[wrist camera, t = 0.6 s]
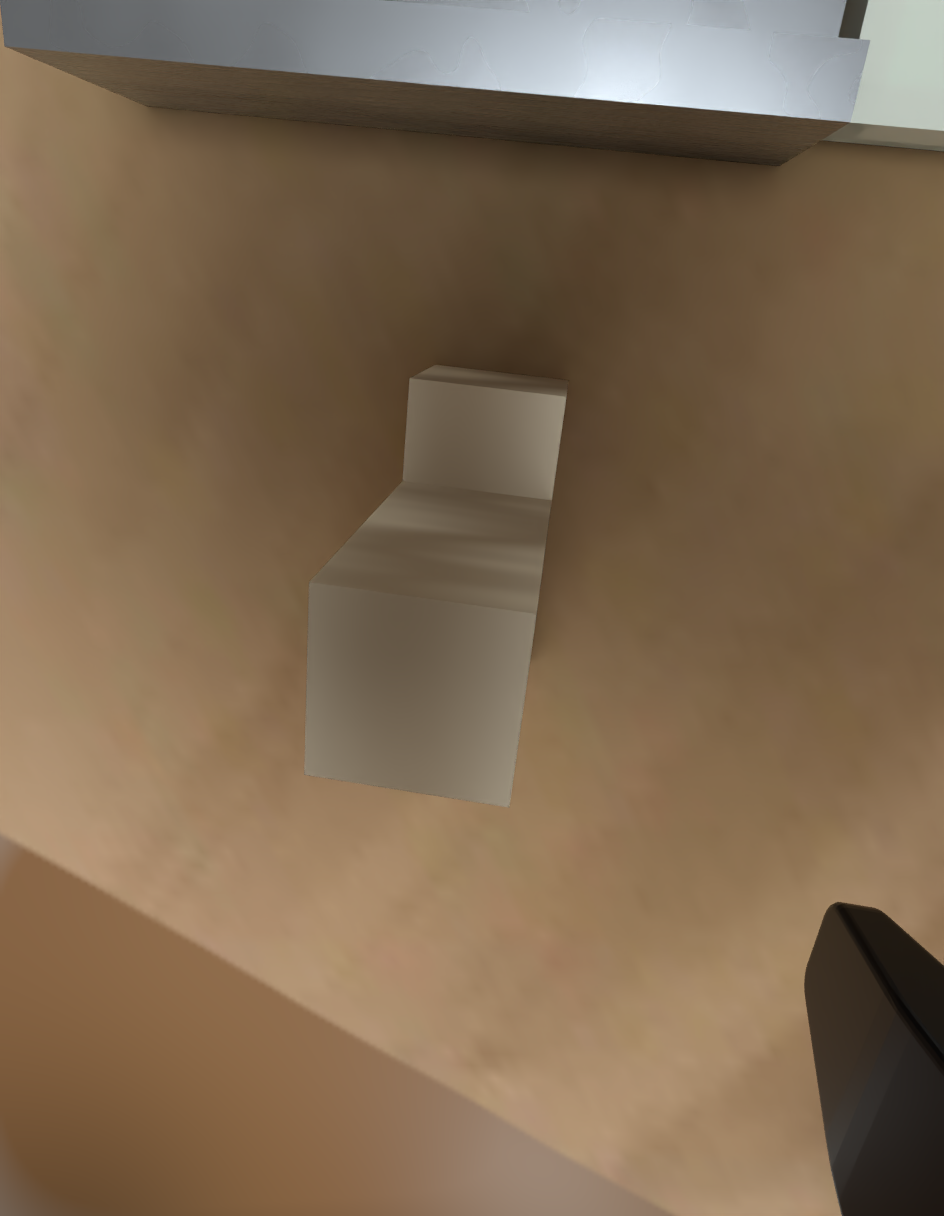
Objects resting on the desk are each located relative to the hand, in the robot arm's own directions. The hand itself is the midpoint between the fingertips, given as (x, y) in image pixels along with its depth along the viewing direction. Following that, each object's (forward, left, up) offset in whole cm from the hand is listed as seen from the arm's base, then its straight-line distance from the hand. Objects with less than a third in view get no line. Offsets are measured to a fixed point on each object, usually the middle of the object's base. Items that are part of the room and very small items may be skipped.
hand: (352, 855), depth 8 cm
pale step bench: (0, 0, -12) cm, 12 cm away
